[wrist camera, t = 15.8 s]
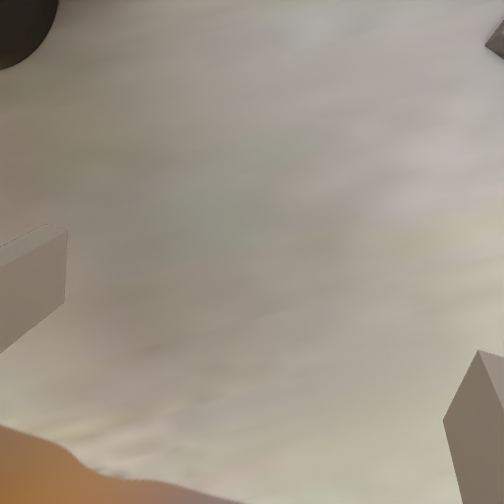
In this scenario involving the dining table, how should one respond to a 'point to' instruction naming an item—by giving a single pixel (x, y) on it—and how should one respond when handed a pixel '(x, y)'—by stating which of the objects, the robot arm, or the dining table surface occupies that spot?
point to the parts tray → (497, 41)
